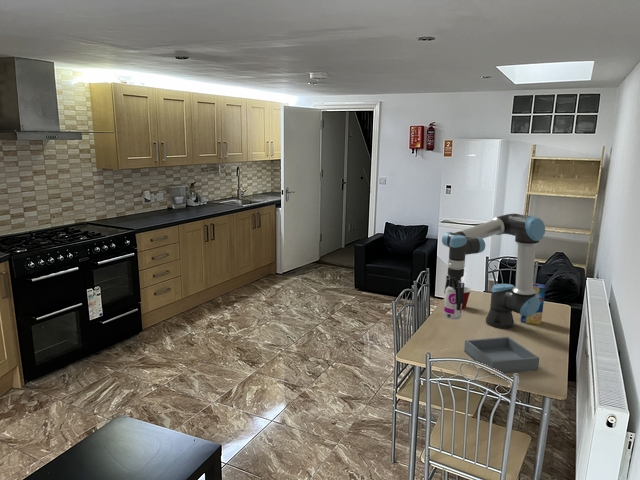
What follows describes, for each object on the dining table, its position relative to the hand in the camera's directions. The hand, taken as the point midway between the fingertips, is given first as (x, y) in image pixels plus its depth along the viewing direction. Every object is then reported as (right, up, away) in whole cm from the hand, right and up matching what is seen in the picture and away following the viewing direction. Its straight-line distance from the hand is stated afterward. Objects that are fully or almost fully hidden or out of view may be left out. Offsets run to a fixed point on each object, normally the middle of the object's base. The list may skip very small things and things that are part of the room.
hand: (452, 312), depth 236 cm
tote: (+21, -22, -5) cm, 31 cm away
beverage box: (+57, -12, +45) cm, 74 cm away
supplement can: (0, -2, +1) cm, 2 cm away
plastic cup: (+23, -7, +66) cm, 71 cm away
